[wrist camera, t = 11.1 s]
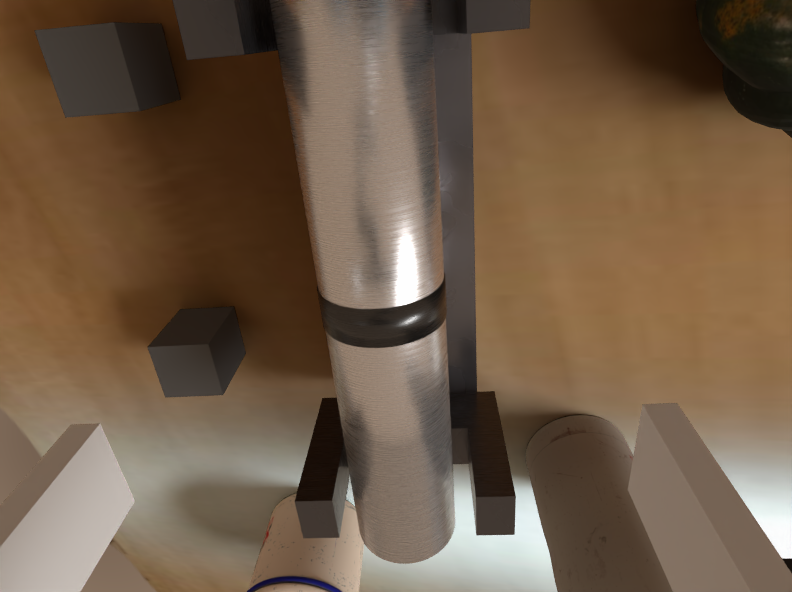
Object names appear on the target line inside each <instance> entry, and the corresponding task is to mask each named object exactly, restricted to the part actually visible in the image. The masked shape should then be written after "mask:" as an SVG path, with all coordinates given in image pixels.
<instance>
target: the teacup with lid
mask: <svg viewBox="0 0 792 592" xmlns="http://www.w3.org/2000/svg"><path fill="white" fill-rule="evenodd" d="M296 494H297V493H296ZM296 494H293V495H291V496H289V497H287V498H285V499H284V500H282V501H281V502H280V503H279V504H278V505H277V506H276V507H275V509H274V510H273V512H272V515H271V518H270V521H269V524H268V528H267V531H266V534H265V537H264V541H263V544H262V547H261V550H260V553H259V557H258V560H257V563H256V566H255V570H254V573H253V576H252V579H251V582H250V586H249V589H248V591H247V592H359V584H360V575H361V566H362V557H363V548H364V542H363V540H362V538H361V535H360V532H359V526H358V520H357V514H356V508H355V507H354V506H353V505H352V504H351V503H350V502H348V501H347V500H346V501H345V507H344V513H343V519H342V525H341V531H340V538H303V534H302V530H301V526H300V522H299V518H298V514H297V510H296V505H295V498H296Z"/></svg>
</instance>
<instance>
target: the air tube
mask: <svg viewBox="0 0 792 592" xmlns="http://www.w3.org/2000/svg"><path fill="white" fill-rule="evenodd" d="M270 6H271V12H272V18H273V24H274V30H275V35H276V41H277V47H278V53H279V59H280V65H281V71H282V77H283V83H284V89H285V95H286V100H287V106H288V112H289V118H290V124H291V130H292V136H293V142H294V148H295V154H296V159H297V165H298V171H299V177H300V183H301V189H302V195H303V201H304V207H305V213H306V219H307V224H308V230H309V236H310V242H311V248H312V254H313V260H314V266H315V272H316V278H317V291H318V297H319V303H320V309H321V315H322V321H323V326H324V329H325V331H326V337H327V343H328V348H329V354H330V360H331V366H332V372H333V378H334V384H335V390H336V396H337V402H338V408H339V413H340V419H341V425H342V431H343V437H344V443H345V449H346V455H347V461H348V467H349V473H350V478H351V484H352V490H353V496H354V502H355V508H356V514H357V520H358V526H359V532H360V535H361V538H362V540H363V542H364V544H365V545H366V546H367V548H368V549H369V550H370V551H371V552H372V553H374V554H375V555H376V556H378V557H380V558H382V559H384V560H387V561H390V562H394V563H415V562H420V561H423V560H426V559H428V558H430V557H432V556H434V555H435V554H437V553H438V552H439V551H441V550H442V549H443V548H444V547H445V546H446V544H447V543H448V542H449V540H450V539H451V536H452V534H453V531H454V528H455V505H454V484H453V462H452V440H451V418H450V396H449V374H448V353H447V331H446V316H447V304H446V281H445V272H444V265H443V243H442V222H441V200H440V178H439V156H438V134H437V112H436V91H435V69H434V47H433V25H432V3H431V0H270Z"/></svg>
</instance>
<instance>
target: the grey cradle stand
mask: <svg viewBox="0 0 792 592" xmlns="http://www.w3.org/2000/svg"><path fill="white" fill-rule="evenodd" d="M431 3H432V25H433V47H434V69H435V91H436V112H437V134H438V156H439V178H440V200H441V222H442V243H443V265H444V272H445V281H446V304H447V316H446V331H447V353H448V374H449V396H450V418H451V440H452V462H453V464H469V471H470V480H471V489H472V498H473V507H474V517H475V526H476V535H514V532H515V498H516V496H515V491H514V486H513V481H512V476H511V471H510V466H509V461H508V456H507V451H506V446H505V441H504V436H503V432H502V427H501V422H500V417H499V412H498V407H497V402H496V397H495V392H494V391H491V392H477V373H476V309H475V246H474V183H473V120H472V57H471V34H472V33H482V32H493V31H504V30H515V29H526V28H529V27H530V0H431ZM173 4H174V8H175V12H176V16H177V20H178V25H179V29H180V33H181V37H182V41H183V45H184V49H185V53H186V57H187V60H192V59H202V58H213V57H224V56H235V55H245V54H253V53H260V52H267V51H275V50H278V47H277V41H276V35H275V30H274V24H273V18H272V12H271V6H270V0H173ZM349 476H350V473H349V467H348V461H347V455H346V449H345V443H344V437H343V431H342V425H341V419H340V413H339V408H338V402H337V398H322V402H321V405H320V409H319V413H318V417H317V420H316V424H315V428H314V431H313V435H312V439H311V442H310V446H309V450H308V454H307V457H306V461H305V465H304V468H303V472H302V476H301V480H300V483H299V487H298V491H297V494H296V498H295V505H296V510H297V514H298V518H299V522H300V526H301V530H302V534H303V538H340V531H341V525H342V519H343V513H344V507H345V501H346V494H347V488H348V482H349Z"/></svg>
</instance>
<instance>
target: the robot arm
mask: <svg viewBox="0 0 792 592" xmlns="http://www.w3.org/2000/svg"><path fill="white" fill-rule="evenodd" d="M628 491H629V493H630V496H631V498H632V500H633V502H634V505H635V507H636V509H637V512H638V514H639V516H640V518H641V521H642V523H643V525H644V527H645V530H646V532H647V534H648V536H649V539H650V541H651V543H652V545H653V548H654V550H655V552H656V555H657V557H658V559H659V561H660V564H661V566H662V568H663V570H664V573H665V575H666V577H667V579H668V582H669V584H670V586H671V588H672V591H673V592H792V559H782V558H781V557H780V555H779V554H778V552H777V551H776V549H775V548H774V546H773V545H772V543H771V542H770V540H769V539H768V537H767V536H766V534H765V533H764V531H763V530H762V528H761V527H760V525H759V524H758V522H757V521H756V519H755V518H754V517H753V515H752V514H751V512H750V511H749V509H748V508H747V506H746V505H745V503H744V502H743V500H742V499H741V497H740V496H739V494H738V493H737V491H736V490H735V488H734V487H733V485H732V484H731V482H730V481H729V479H728V478H727V476H726V475H725V473H724V472H723V470H722V469H721V467H720V466H719V465H718V463H717V462H716V460H715V459H714V457H713V456H712V454H711V453H710V451H709V450H708V448H707V447H706V445H705V444H704V442H703V441H702V439H701V438H700V436H699V435H698V433H697V432H696V430H695V429H694V427H693V426H692V424H691V423H690V421H689V420H688V418H687V417H686V416H685V414H684V413H683V411H682V410H681V408H680V407H679V405H678V404H677V403H663V404H642V410H641V416H640V422H639V427H638V433H637V439H636V445H635V451H634V456H633V462H632V468H631V474H630V480H629V485H628ZM134 502H135V500H134V498H133V495H132V493H131V491H130V489H129V487H128V484H127V482H126V480H125V478H124V475H123V473H122V471H121V469H120V467H119V464H118V462H117V460H116V458H115V455H114V453H113V451H112V449H111V447H110V444H109V442H108V440H107V438H106V436H105V433H104V431H103V429H102V427H101V424H74V425H70V426H69V428H68V429H67V430H66V431H65V432H64V433H63V434H62V436H61V437H60V438H59V439H58V440H57V441H56V442H55V444H54V445H53V446H52V447H51V448H50V449H49V450H48V451H47V453H46V454H45V455H44V456H43V457H42V458H41V459H40V461H39V462H38V463H37V464H36V465H35V466H34V467H33V469H32V470H31V471H30V472H29V473H28V474H27V475H26V477H25V478H24V479H23V480H22V481H21V482H20V483H19V485H18V486H17V487H16V488H15V489H14V490H13V491H12V493H11V494H10V495H9V496H8V497H7V498H6V499H5V500H4V502H3V503H2V504H1V505H0V592H80V591H81V590H82V588H83V586H84V585H85V583H86V581H87V579H88V578H89V576H90V575H91V573H92V571H93V570H94V568H95V566H96V565H97V563H98V561H99V560H100V558H101V556H102V555H103V553H104V551H105V550H106V548H107V546H108V545H109V543H110V541H111V540H112V538H113V537H114V535H115V533H116V532H117V530H118V528H119V527H120V525H121V523H122V522H123V520H124V518H125V517H126V515H127V513H128V512H129V510H130V508H131V507H132V505H133V503H134Z"/></svg>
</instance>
